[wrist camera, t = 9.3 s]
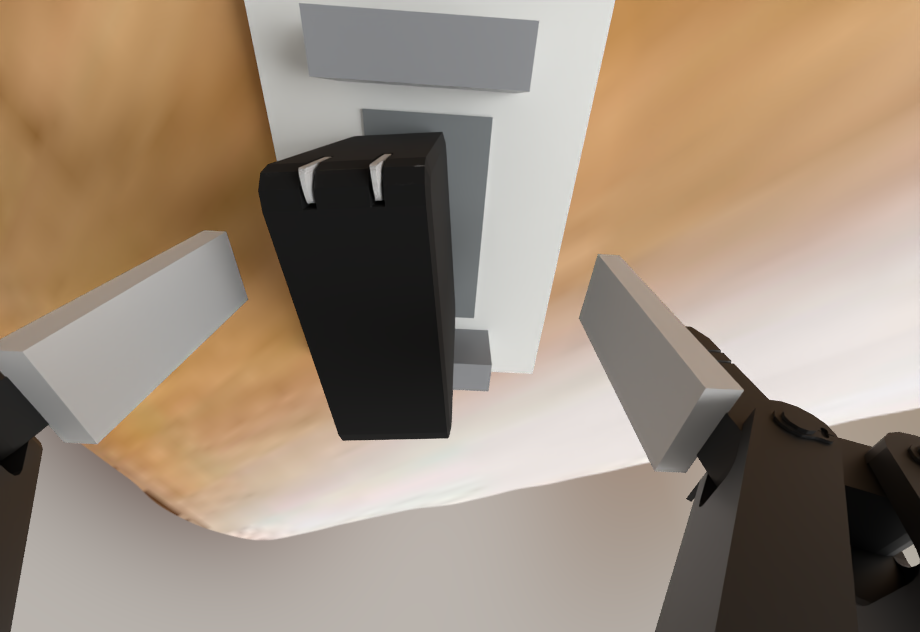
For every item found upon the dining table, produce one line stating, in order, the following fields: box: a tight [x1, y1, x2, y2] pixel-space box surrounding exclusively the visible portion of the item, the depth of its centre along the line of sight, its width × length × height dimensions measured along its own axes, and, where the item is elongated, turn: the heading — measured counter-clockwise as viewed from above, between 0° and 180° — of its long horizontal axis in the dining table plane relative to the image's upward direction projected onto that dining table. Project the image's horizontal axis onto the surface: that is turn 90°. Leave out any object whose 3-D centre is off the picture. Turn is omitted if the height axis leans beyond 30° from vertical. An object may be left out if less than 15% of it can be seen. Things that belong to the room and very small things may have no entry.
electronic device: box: [258, 132, 455, 441], centre depth 15 cm, size 4×10×10 cm, turn 2°
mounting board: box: [244, 0, 615, 391], centre depth 18 cm, size 20×15×5 cm
